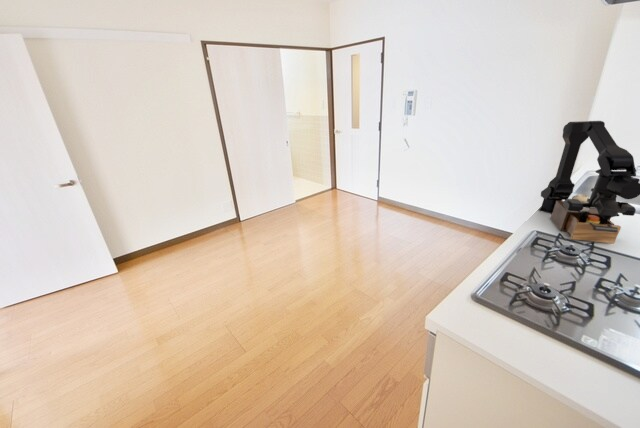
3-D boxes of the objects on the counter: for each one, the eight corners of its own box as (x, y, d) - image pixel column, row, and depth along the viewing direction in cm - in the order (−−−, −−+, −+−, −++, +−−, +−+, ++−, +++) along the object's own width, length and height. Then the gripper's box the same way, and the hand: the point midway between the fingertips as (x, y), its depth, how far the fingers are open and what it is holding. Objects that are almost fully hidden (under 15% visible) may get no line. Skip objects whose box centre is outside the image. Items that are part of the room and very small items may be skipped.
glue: (583, 226, 108) (588, 213, 106) (596, 229, 105) (602, 216, 103) (580, 229, 106) (585, 216, 104) (594, 233, 103) (600, 220, 101)
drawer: (621, 250, 97) (631, 230, 93) (576, 245, 101) (584, 225, 97) (599, 230, 109) (607, 211, 106) (560, 226, 114) (567, 208, 110)
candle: (568, 218, 122) (576, 196, 117) (564, 212, 126) (571, 192, 122) (584, 219, 120) (593, 198, 115) (579, 214, 124) (587, 193, 120)
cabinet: (603, 235, 108) (612, 215, 104) (560, 230, 112) (567, 211, 109) (589, 222, 117) (596, 203, 114) (550, 218, 122) (556, 200, 118)
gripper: (582, 194, 95) (567, 234, 102) (655, 199, 89) (634, 241, 95) (569, 184, 104) (556, 221, 111) (634, 187, 98) (616, 226, 105)
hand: (589, 227), depth 105 cm, fingers closed on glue, 4 cm apart
